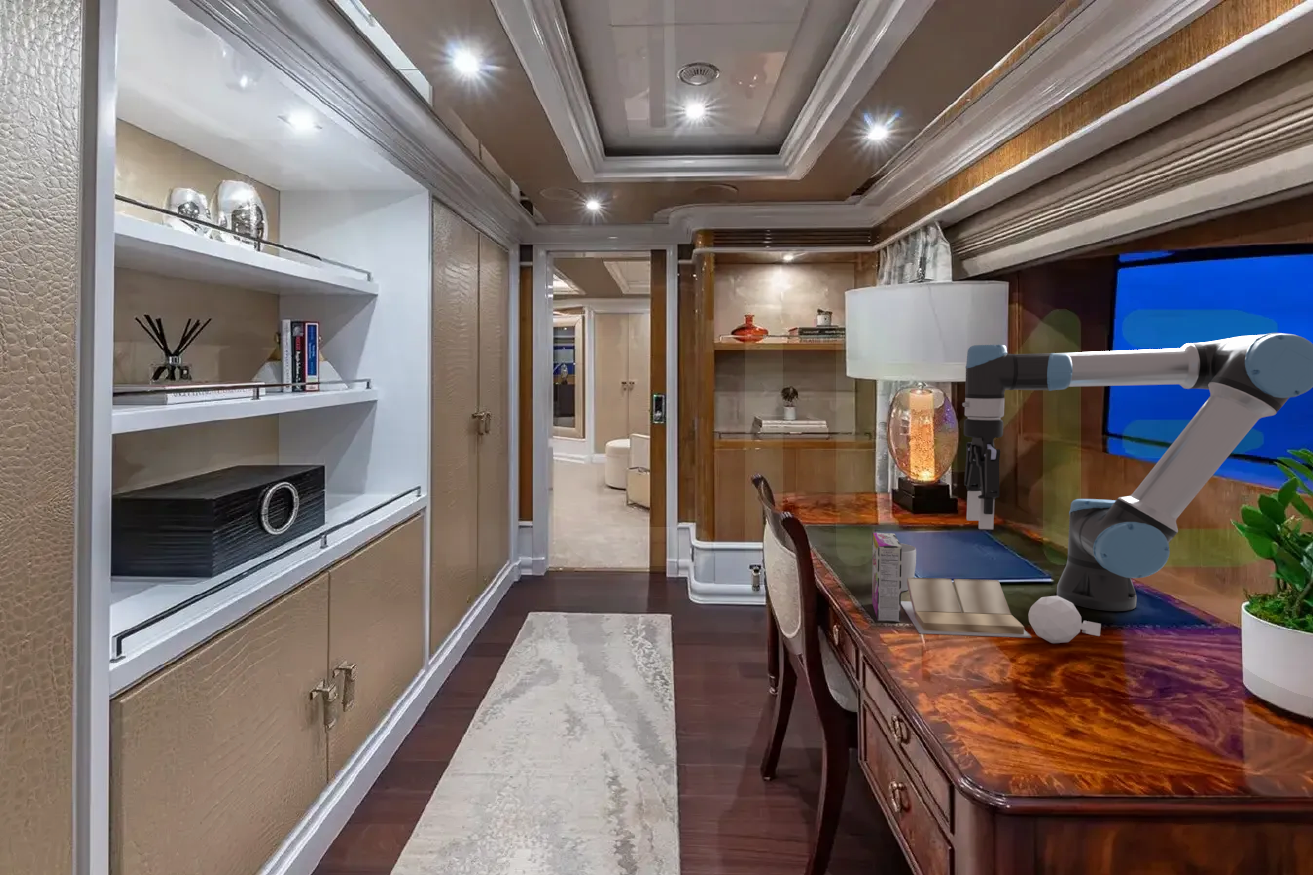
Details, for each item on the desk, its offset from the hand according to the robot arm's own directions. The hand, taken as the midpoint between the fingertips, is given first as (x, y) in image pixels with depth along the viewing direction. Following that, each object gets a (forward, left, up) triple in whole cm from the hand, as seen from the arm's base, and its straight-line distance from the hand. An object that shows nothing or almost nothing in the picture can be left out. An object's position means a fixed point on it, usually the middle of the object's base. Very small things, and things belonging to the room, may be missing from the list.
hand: (979, 524), depth 147 cm
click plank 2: (0, +2, -16) cm, 16 cm away
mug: (+13, -16, -19) cm, 28 cm away
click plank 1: (+10, +2, -16) cm, 19 cm away
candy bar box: (+20, +4, -19) cm, 28 cm away
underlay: (+5, +6, -19) cm, 21 cm away
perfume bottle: (-10, +17, -19) cm, 28 cm away
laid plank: (+5, +10, -19) cm, 22 cm away
